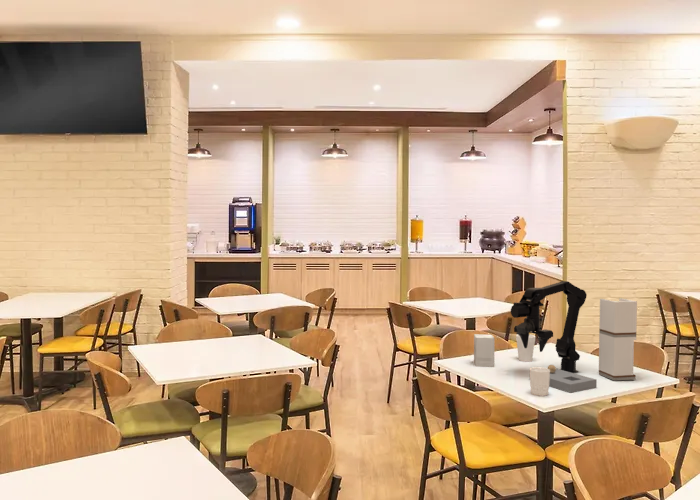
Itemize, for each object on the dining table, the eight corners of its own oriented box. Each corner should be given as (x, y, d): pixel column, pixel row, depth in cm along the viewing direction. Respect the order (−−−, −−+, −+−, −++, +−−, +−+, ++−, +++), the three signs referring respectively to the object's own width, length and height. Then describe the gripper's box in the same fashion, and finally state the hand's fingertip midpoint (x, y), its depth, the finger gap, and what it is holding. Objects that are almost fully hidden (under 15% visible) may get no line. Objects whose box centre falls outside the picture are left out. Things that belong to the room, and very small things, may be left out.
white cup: (526, 391, 237) (526, 367, 237) (544, 390, 238) (545, 366, 238) (534, 396, 229) (534, 372, 229) (553, 396, 230) (553, 371, 230)
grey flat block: (555, 375, 262) (555, 368, 262) (596, 387, 243) (596, 379, 242) (529, 380, 254) (529, 372, 254) (570, 392, 235) (570, 384, 235)
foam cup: (537, 360, 293) (537, 335, 292) (532, 364, 285) (532, 338, 284) (518, 358, 298) (519, 333, 297) (513, 361, 290) (513, 336, 289)
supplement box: (492, 364, 285) (492, 334, 284) (494, 368, 276) (495, 337, 275) (473, 363, 286) (473, 333, 285) (475, 368, 277) (475, 337, 276)
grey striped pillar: (635, 379, 256) (637, 301, 255) (613, 380, 254) (615, 301, 253) (619, 373, 267) (620, 298, 266) (598, 374, 266) (599, 298, 264)
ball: (551, 371, 256) (551, 363, 256) (557, 373, 253) (557, 365, 253) (545, 372, 254) (545, 364, 254) (551, 374, 251) (552, 366, 251)
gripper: (505, 315, 266) (505, 348, 267) (536, 320, 250) (536, 356, 251) (522, 312, 272) (522, 345, 272) (554, 318, 255) (554, 352, 256)
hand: (533, 349), depth 263 cm, fingers open, 9 cm apart
